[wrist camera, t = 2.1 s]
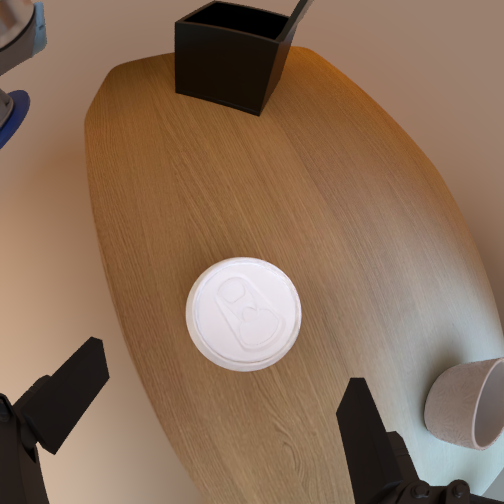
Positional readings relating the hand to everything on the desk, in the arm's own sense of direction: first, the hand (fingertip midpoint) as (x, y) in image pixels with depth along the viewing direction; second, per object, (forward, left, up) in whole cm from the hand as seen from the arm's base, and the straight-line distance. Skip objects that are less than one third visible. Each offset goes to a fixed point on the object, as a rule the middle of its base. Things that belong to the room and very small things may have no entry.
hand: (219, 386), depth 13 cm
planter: (+34, +2, -15) cm, 38 cm away
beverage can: (0, +5, -15) cm, 16 cm away
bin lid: (-5, +41, +7) cm, 42 cm away
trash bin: (-14, +41, -15) cm, 46 cm away
